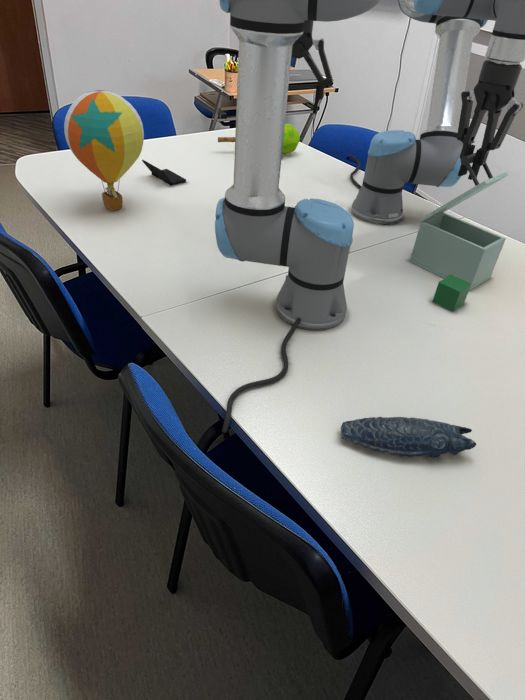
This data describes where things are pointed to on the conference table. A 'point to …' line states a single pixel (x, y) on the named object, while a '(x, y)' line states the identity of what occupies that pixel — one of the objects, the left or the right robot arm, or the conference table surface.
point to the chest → (456, 249)
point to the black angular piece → (165, 175)
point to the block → (451, 292)
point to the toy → (105, 138)
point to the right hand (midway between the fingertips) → (467, 176)
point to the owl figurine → (407, 436)
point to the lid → (478, 187)
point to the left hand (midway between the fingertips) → (288, 109)
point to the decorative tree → (289, 139)
